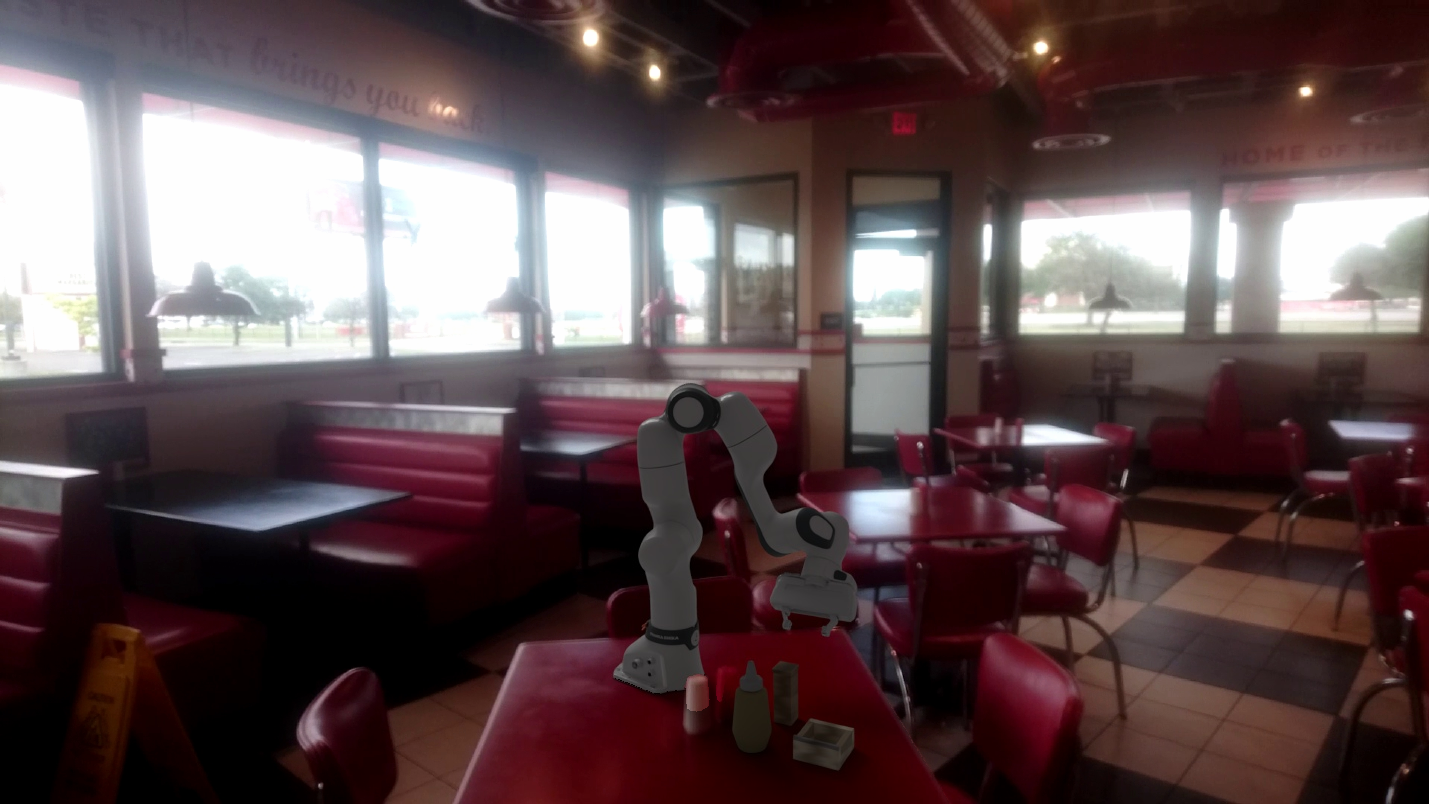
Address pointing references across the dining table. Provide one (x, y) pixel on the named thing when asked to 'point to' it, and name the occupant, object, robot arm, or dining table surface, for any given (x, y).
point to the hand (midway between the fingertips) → (805, 631)
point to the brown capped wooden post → (785, 692)
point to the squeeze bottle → (751, 713)
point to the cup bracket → (823, 744)
